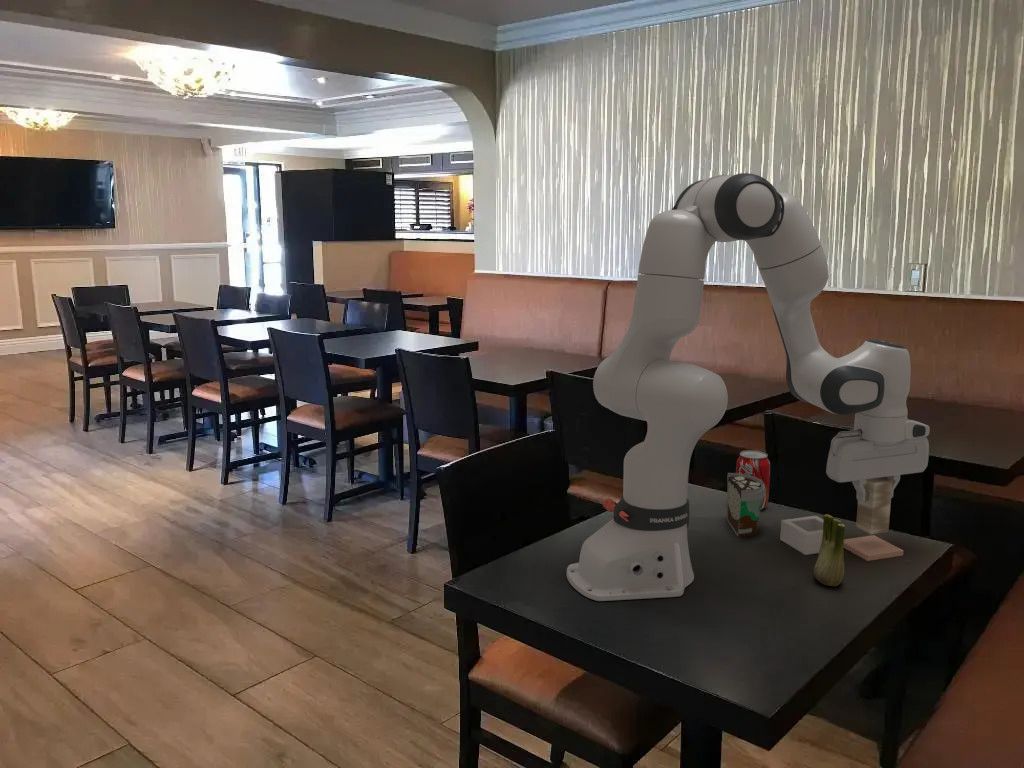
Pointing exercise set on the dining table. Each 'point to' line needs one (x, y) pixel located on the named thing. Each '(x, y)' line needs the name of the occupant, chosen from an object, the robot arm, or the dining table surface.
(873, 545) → the terracotta tile
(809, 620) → the dining table surface
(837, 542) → the fennel bulb
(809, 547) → the pocket collar
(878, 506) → the ash peg
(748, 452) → the soda can
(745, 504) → the food container
